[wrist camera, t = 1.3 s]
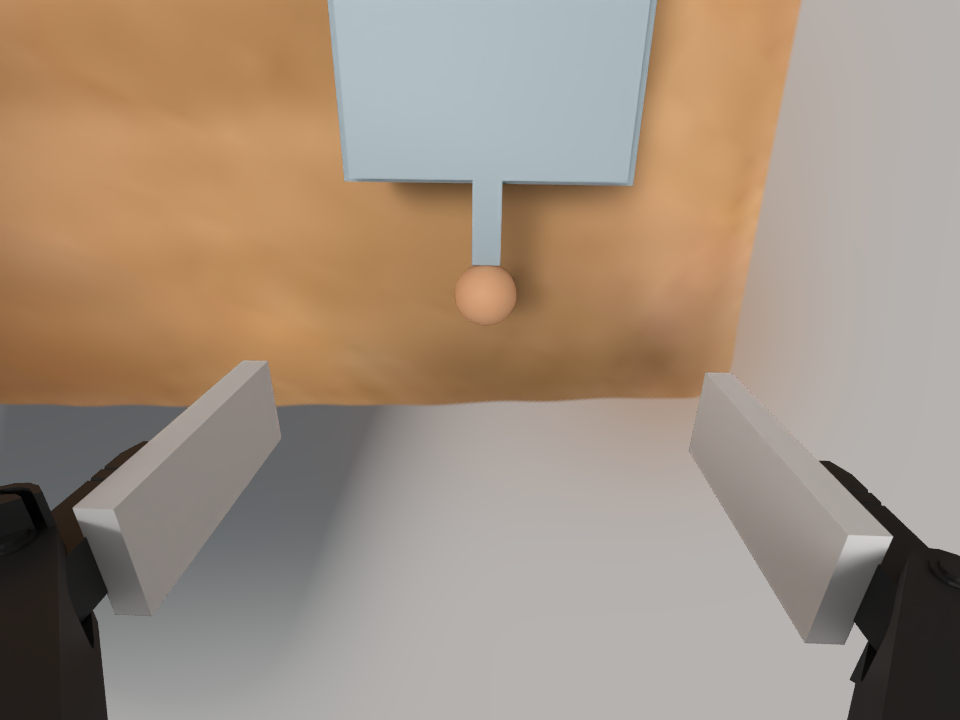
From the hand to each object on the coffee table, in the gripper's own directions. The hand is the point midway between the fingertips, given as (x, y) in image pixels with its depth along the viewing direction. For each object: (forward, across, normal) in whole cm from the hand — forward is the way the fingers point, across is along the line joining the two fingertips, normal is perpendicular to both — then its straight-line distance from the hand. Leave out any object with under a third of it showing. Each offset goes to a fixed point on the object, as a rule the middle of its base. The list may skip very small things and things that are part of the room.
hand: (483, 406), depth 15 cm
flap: (+13, 0, +9) cm, 16 cm away
